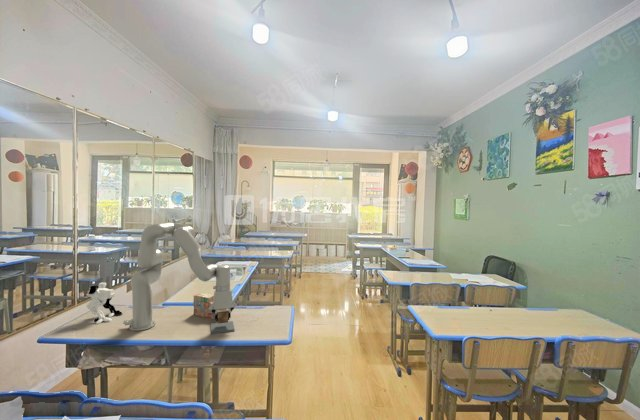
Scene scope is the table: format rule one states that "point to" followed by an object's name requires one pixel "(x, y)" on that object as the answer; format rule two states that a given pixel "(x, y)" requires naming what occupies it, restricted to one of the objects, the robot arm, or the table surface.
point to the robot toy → (102, 302)
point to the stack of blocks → (204, 305)
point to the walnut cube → (223, 316)
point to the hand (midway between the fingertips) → (222, 319)
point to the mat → (222, 327)
